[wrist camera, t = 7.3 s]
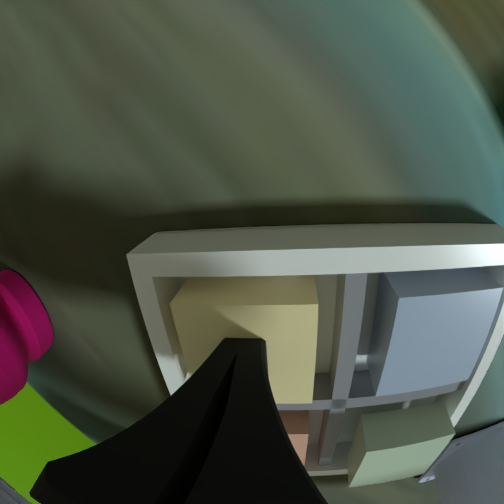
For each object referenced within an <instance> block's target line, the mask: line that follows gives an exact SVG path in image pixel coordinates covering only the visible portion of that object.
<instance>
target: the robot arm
mask: <svg viewBox="0 0 504 504" xmlns="http://www.w3.org/2000/svg"><path fill="white" fill-rule="evenodd" d="M432 479H435V481H436V485H437V490H438V495H439V500H440V504H504V421H503V422H500V423H498V424H496V425H493V426H491V427H488V428H486V429H483V430H480V431H478V432H475V433H472V434H469V435H466V436H463V437H460V438H457V439H454V440H452V441H450V442H449V443H448V444H447V446H446V447H445V448H444V450H443V451H442V452H441V453H440V455H439V456H438V457H437V458H436V460H435V461H434V462H433V463H432V464H431V466H430V467H429V468H428V469H427V470H426V471H425V472H424V474H422V476H421V477H420V478H419V479H418V482H419V483H421V482H425V481H428V480H432ZM30 496H31V497H32V498H34V499H35V500H36V501H38V502H39V503H41V504H328V503H327V502H326V500H325V499H324V497H323V496H322V495H321V493H320V492H319V490H318V489H317V487H316V485H315V484H314V482H313V481H312V479H311V478H310V476H309V474H308V472H307V471H306V469H305V467H304V465H303V464H302V462H301V460H300V458H299V456H298V455H297V453H296V451H295V449H294V447H293V445H292V443H291V441H290V438H289V436H288V434H287V432H286V429H285V427H284V425H283V422H282V420H281V417H280V415H279V412H278V409H277V406H276V403H275V400H274V397H273V394H272V390H271V386H270V382H269V376H268V362H267V347H266V341H265V340H264V339H263V338H224V339H223V340H222V341H221V342H220V343H219V345H218V346H217V347H216V348H215V350H214V351H213V352H212V353H211V354H210V355H209V357H208V358H207V359H206V360H205V361H204V362H203V364H202V365H201V366H200V367H199V368H198V369H197V370H196V371H195V372H194V373H193V374H192V375H191V377H190V378H189V379H188V380H187V381H186V382H185V383H184V384H183V385H182V386H181V387H179V388H178V389H177V390H176V391H175V392H174V393H173V394H172V395H171V396H170V397H169V398H168V399H166V400H165V401H164V402H163V403H162V404H161V405H159V406H158V407H157V408H156V409H154V410H153V411H152V412H150V413H149V414H148V415H146V416H145V417H144V418H142V419H141V420H139V421H138V422H136V423H135V424H133V425H132V426H130V427H128V428H127V429H125V430H124V431H122V432H120V433H119V434H117V435H115V436H113V437H111V438H109V439H107V440H105V441H103V442H101V443H99V444H97V445H95V446H93V447H90V448H88V449H86V450H83V451H80V452H78V453H75V454H72V455H69V456H66V457H63V458H59V459H56V460H53V461H49V462H48V463H47V464H46V466H45V467H44V469H43V471H42V472H41V474H40V475H39V477H38V479H37V481H36V482H35V484H34V486H33V488H32V489H31V491H30ZM0 504H32V503H30V502H29V501H28V500H26V499H25V498H24V497H23V496H21V495H20V494H19V493H17V492H16V491H15V489H14V488H13V487H12V486H10V485H9V484H8V483H7V482H6V481H4V480H3V479H2V478H1V477H0Z"/></svg>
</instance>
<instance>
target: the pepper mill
mask: <svg viewBox="0 0 504 504" xmlns="http://www.w3.org/2000/svg"><path fill="white" fill-rule="evenodd" d="M52 343H53V329H52V325H51V321H50V318H49V316H48V314H47V311H46V309H45V307H44V305H43V304H42V302H41V300H40V298H39V297H38V295H37V294H36V292H35V291H34V290H33V288H32V287H31V286H30V285H29V283H28V282H27V281H26V280H25V279H23V278H22V277H21V276H20V275H19V274H18V273H16V272H14V271H12V270H2V271H1V272H0V405H1V404H3V403H5V402H6V401H8V400H10V399H11V398H13V397H14V396H15V395H16V394H17V393H18V392H19V391H20V390H22V389H23V387H24V386H25V384H26V381H27V377H28V361H37V360H38V359H39V358H40V357H41V356H42V355H43V354H44V353H45V352H46V351H47V350H48V349H49V348H50V347H51V345H52Z"/></svg>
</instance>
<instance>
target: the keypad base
mask: <svg viewBox="0 0 504 504" xmlns="http://www.w3.org/2000/svg"><path fill="white" fill-rule="evenodd" d="M126 255H127V260H128V264H129V268H130V272H131V276H132V280H133V284H134V287H135V291H136V295H137V298H138V302H139V305H140V309H141V312H142V315H143V319H144V322H145V325H146V328H147V331H148V334H149V337H150V340H151V343H152V346H153V349H154V352H155V355H156V358H157V361H158V363H159V366H160V369H161V372H162V374H163V377H164V380H165V382H166V385H167V387H168V390H169V392H170V395H172V394H173V393H174V392H175V391H176V390H177V389H178V388H179V387H181V386H182V385H183V384H184V383H185V382H186V381H187V380H188V379H189V378H190V376H189V372H188V369H187V366H186V362H185V359H184V356H183V352H182V349H181V345H180V341H179V338H178V334H177V330H176V327H175V323H174V319H173V315H172V311H171V307H170V303H171V301H172V300H173V298H174V297H175V296H176V294H177V293H178V291H179V290H180V289H181V287H182V286H183V284H184V283H185V282H186V280H187V279H188V277H228V276H287V275H315V282H316V289H317V296H318V304H319V306H318V329H317V348H316V363H315V376H314V388H313V399H312V403H306V404H276V406H277V409H278V410H309V432H308V442H307V450H306V457H305V464H304V467H305V469H306V471H307V472H308V474H309V476H325V475H339V474H348V468H347V454H348V452H349V449H350V446H351V443H352V441H353V438H354V435H355V432H356V429H357V426H358V423H359V420H360V417H361V414H370V413H379V412H386V411H393V410H400V409H406V408H411V407H417V406H422V405H427V404H432V403H436V402H441V401H443V402H444V404H445V407H446V409H447V412H448V414H449V417H450V419H451V422H452V425H453V427H455V425H456V424H457V422H458V421H459V419H460V417H461V416H462V414H463V413H464V411H465V409H466V408H467V406H468V405H469V403H470V401H471V399H472V398H473V396H474V394H475V392H476V391H477V389H478V387H479V385H480V383H481V381H482V380H483V378H484V376H485V374H486V372H487V370H488V368H489V366H490V364H491V361H492V359H493V357H494V355H495V353H496V351H497V348H498V346H499V344H500V341H501V339H502V336H503V334H504V227H502V226H500V225H499V224H473V223H376V224H324V225H290V226H262V227H238V228H217V229H197V230H179V231H163V232H155V233H154V234H153V235H151V236H150V237H149V238H147V239H146V240H145V241H143V242H142V243H141V244H139V245H138V246H137V247H135V248H134V249H133V250H131V251H130V252H129V253H127V254H126ZM468 267H481V268H482V269H483V270H484V271H486V272H487V273H488V274H489V275H490V276H491V277H492V278H494V279H495V280H496V281H497V282H498V283H499V284H500V285H501V286H502V287H503V290H502V294H501V297H500V301H499V304H498V307H497V310H496V313H495V316H494V319H493V322H492V325H491V327H490V330H489V333H488V335H487V338H486V340H485V343H484V345H483V348H482V350H481V352H480V355H479V357H478V359H477V362H476V364H475V366H474V368H473V370H472V372H471V374H470V376H469V378H468V380H465V381H461V382H457V383H452V384H448V385H443V386H439V387H434V388H429V389H423V390H418V391H412V392H406V393H399V394H392V395H385V396H377V397H375V393H374V389H373V385H372V381H371V377H370V373H369V369H368V365H367V361H366V360H367V355H368V350H369V344H370V339H371V334H372V328H373V322H374V315H375V309H376V302H377V294H378V287H379V278H380V272H399V271H418V270H436V269H453V268H468Z"/></svg>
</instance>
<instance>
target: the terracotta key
mask: <svg viewBox="0 0 504 504" xmlns="http://www.w3.org/2000/svg"><path fill="white" fill-rule="evenodd" d="M278 412H279V415H280V417H281V420H282V422H283V425H284V427H285V429H286V432H287V434H288V436H289V438H290V441H291V443H292V445H293V447H294V449H295V451H296V453H297V455H298V456H299V458H300V460H301V462H302V464H303V465H304V464H305V457H306V450H307V442H308V432H309V410H278Z"/></svg>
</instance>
